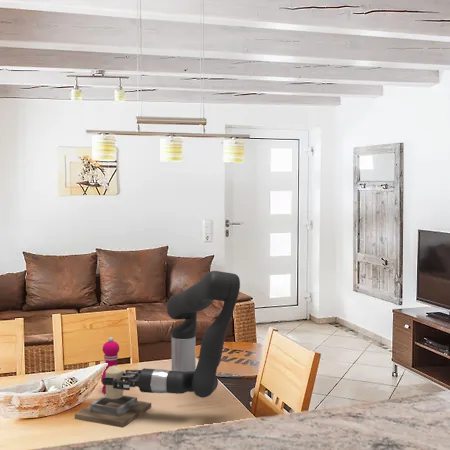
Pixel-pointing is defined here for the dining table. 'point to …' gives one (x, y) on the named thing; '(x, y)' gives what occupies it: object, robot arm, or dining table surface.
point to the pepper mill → (110, 356)
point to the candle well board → (113, 410)
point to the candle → (110, 391)
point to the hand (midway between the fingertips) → (106, 378)
